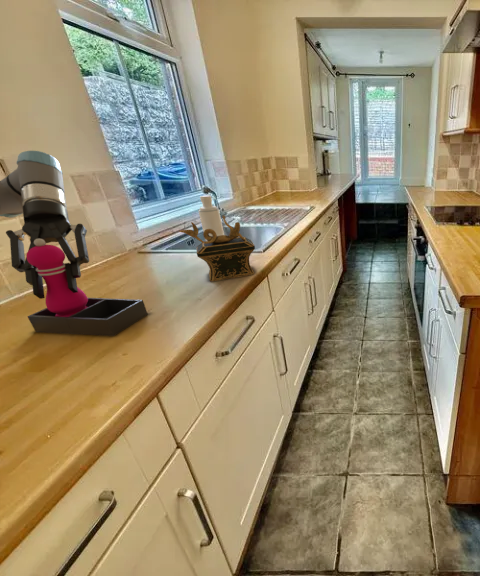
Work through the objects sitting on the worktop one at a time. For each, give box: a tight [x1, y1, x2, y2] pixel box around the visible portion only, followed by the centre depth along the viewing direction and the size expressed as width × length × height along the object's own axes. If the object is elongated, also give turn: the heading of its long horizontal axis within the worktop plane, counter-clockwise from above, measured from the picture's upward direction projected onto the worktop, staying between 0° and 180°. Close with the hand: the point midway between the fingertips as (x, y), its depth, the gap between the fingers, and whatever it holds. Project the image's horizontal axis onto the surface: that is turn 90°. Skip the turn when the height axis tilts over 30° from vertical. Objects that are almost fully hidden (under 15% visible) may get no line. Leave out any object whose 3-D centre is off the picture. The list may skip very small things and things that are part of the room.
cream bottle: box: [197, 194, 225, 241], centre depth 119 cm, size 7×7×25 cm
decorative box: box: [179, 213, 256, 282], centre depth 103 cm, size 20×10×20 cm, turn 119°
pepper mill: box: [25, 239, 89, 317], centre depth 74 cm, size 7×7×20 cm
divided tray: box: [26, 297, 149, 337], centre depth 77 cm, size 20×10×5 cm, turn 85°
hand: (56, 292), depth 72 cm, fingers closed on pepper mill, 5 cm apart
